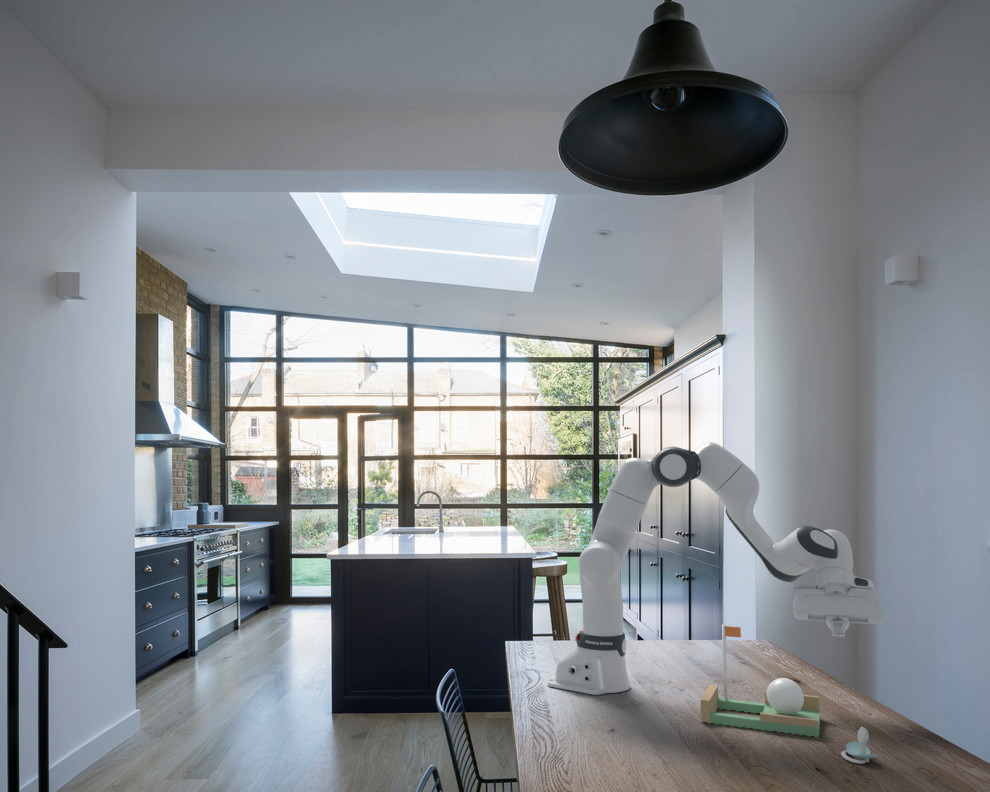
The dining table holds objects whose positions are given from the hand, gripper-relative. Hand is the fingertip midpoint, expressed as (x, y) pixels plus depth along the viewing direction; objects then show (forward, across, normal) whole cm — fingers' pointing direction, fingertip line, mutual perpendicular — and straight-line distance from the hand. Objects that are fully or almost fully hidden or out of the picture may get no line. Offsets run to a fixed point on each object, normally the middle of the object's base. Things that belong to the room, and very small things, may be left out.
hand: (838, 635), depth 177 cm
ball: (+18, -12, -1) cm, 21 cm away
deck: (+22, -17, +3) cm, 28 cm away
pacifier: (+34, +3, -9) cm, 35 cm away
